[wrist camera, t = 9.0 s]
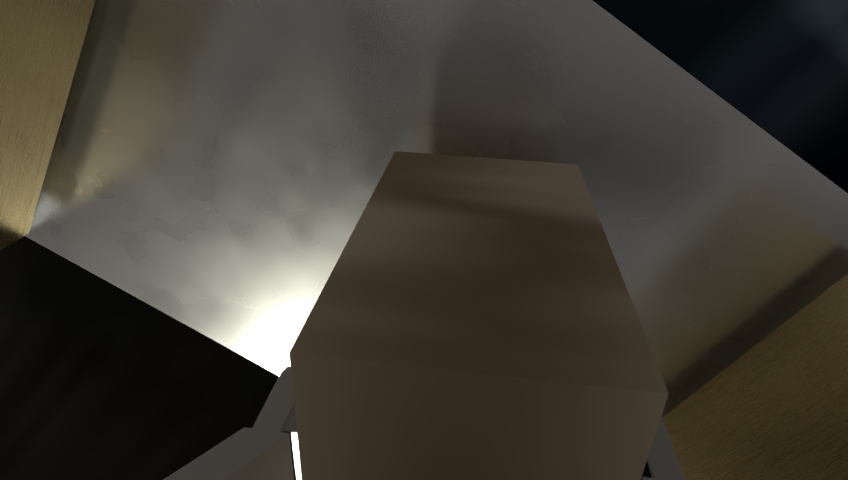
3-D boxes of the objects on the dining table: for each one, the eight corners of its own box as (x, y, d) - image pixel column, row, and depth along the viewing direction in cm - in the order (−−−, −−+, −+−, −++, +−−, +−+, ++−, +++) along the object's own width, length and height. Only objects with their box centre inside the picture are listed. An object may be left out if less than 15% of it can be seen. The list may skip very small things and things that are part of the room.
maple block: (391, 415, 16) (324, 708, 10) (394, 151, 12) (289, 352, 6) (530, 431, 15) (553, 746, 9) (578, 164, 12) (668, 394, 6)
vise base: (-123, 98, 17) (-561, 199, 10) (-65, -493, 11) (-1143, -1351, 4) (622, 522, 22) (680, 792, 15) (965, 285, 15) (1354, 561, 8)
